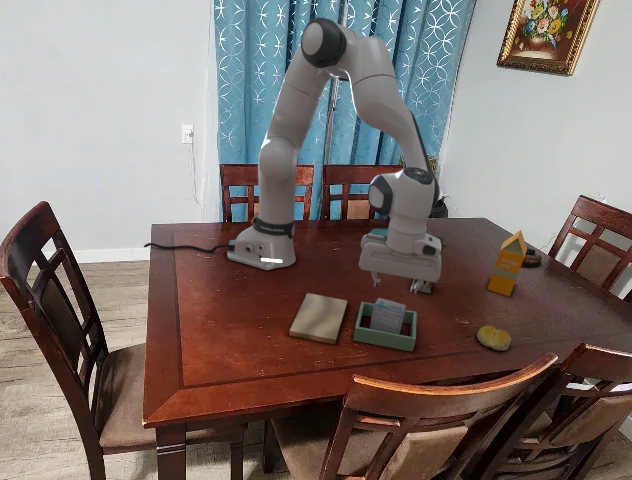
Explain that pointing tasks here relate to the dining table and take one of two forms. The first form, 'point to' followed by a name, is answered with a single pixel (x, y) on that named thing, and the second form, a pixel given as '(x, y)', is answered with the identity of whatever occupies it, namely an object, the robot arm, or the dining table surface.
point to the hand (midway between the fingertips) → (394, 289)
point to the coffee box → (426, 284)
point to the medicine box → (387, 316)
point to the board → (319, 318)
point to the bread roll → (494, 338)
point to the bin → (385, 337)
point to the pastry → (531, 258)
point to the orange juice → (508, 264)
